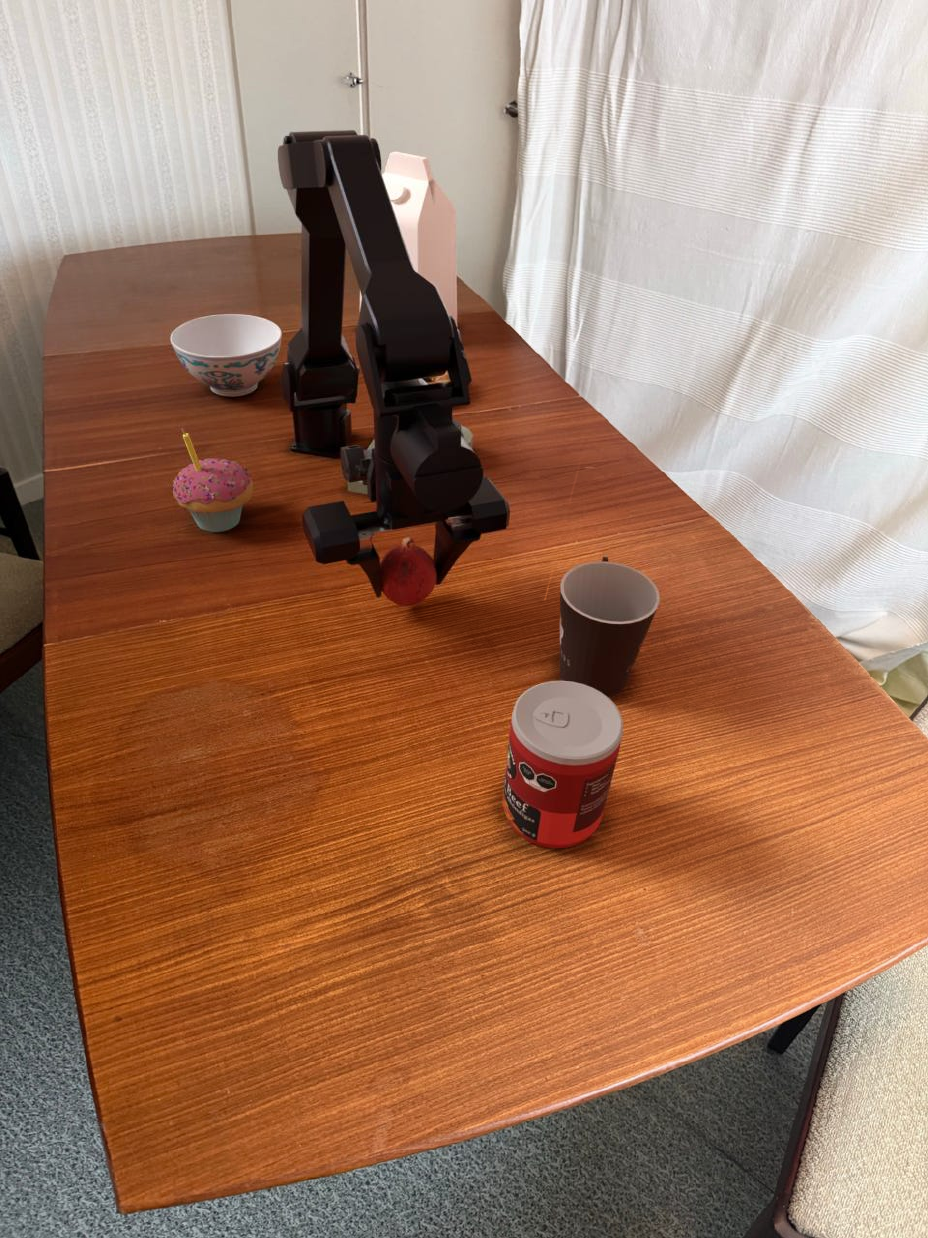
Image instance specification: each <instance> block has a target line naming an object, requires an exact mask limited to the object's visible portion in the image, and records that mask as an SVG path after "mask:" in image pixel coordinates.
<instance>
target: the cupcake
mask: <svg viewBox="0 0 928 1238" xmlns="http://www.w3.org/2000/svg"><path fill="white" fill-rule="evenodd" d="M180 430H181V432H182V439H183V441H184V443H185V446H186V449H187V451H188V454H189V456H190V459H191V461H192V462H191V463H188V464H187V466H185V467H184V468H182V469H180V471H179V472H177V473H178V474H176V476H175V478H174V479H173V480H172V484H173V485H172V488H171V491H172V493H173V498H174V499H175V501H176V502H177V503H178V505H179V506H180V507H181V508H183V509H187V511H188V512H189V513H190V515H191V516H192V518H193V519H194V522H195V523H196V525H197V526H198V527H199V528H200V529H201V530H203V531H205V532H210V533H221V532H222V533H223V532H227V531H229V530H232V529H233V528H235V527H236V526H237V525H238V524H239V523H240V520H241V515H242V510H243V506H244V504H246V503H248V502H249V501H250V500H251V498H252V495H253V493H254V489H255V488H254V482H253V480H252V478H251V476H250V474H249V473H248V469H247V468H244V467H243V466H241V464H238V463H237V462H236V461H234V460H228V459H226V458H224V459H223V458H210V457H207V458H205V459H201V460H200V459H199V457H198V455H197V452H196V450H195V447H194V445H193V442H192V440H191V437H190V434H189V432H188V433H187V432H185V429H184V428H182V427H181V428H180Z"/></svg>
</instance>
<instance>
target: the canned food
mask: <svg viewBox="0 0 928 1238" xmlns="http://www.w3.org/2000/svg"><path fill="white" fill-rule="evenodd" d="M620 711H621V710H619V708H618V706H617V705H616V704H615V703H614V701H612V700H611V698H610V697H607V696H605V695H604V694H603V693H601V692H600V691H598V690H596V689H594V688H592V687H589V686H587V685H584V684H580V683H576V682H570V681H563V680H551V681H544V682H542V683H539V684H536V685H532V686H531V687H530V688H528V689H526V690H525V691H524V692H522V694H521V695H520V696H518V698H517V700H516V702H515V703H514V706H513V710H512V713H511V721H510V726H509V736H508V744H507V752H506V753H507V755H506V761H505V762H506V764H505V773H504V781H503V782H504V783H503V791H502V802H501V803H502V807H503V812H504V814H505V816H506V820H507V821H508V823H509V825H510V826H511V828H512V829H513V831H515V833H517V834H518V835H519V836H520V837H522V838H523V839H525V840H526V841H528V842H530V843H532V844H534V845H537V846H540V847H543V848H548V849H565V848H570V847H575V846H578V845H579V844H581V843H583V842H585V841H587V839H589V838H590V837H591V836H592V834H593V833H594V832H595V831H596V830H597V829H598V827H599V825H600V824H601V821H602V819H603V815H604V811H605V808H606V807H605V806H606V803H607V799H608V795H609V791H610V787H611V784H612V779H613V776H614V772H615V768H616V765H617V760H618V757H619V754H620V749H621V744H622V741H623V734H624V719H623V717H622V713H621V712H620Z"/></svg>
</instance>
